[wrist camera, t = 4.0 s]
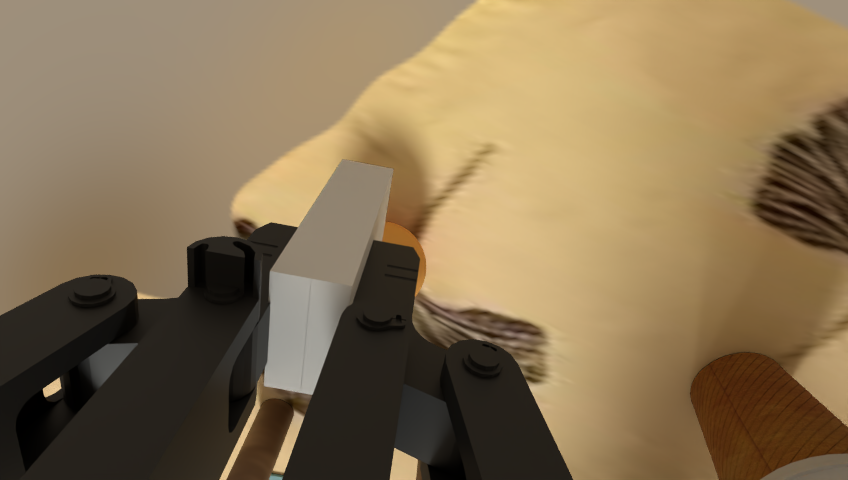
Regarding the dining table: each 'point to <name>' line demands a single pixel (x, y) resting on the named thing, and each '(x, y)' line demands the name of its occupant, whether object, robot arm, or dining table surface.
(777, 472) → the disposable coffee cup
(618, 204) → the dining table surface
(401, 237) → the ball
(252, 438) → the outer post
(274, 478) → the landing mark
